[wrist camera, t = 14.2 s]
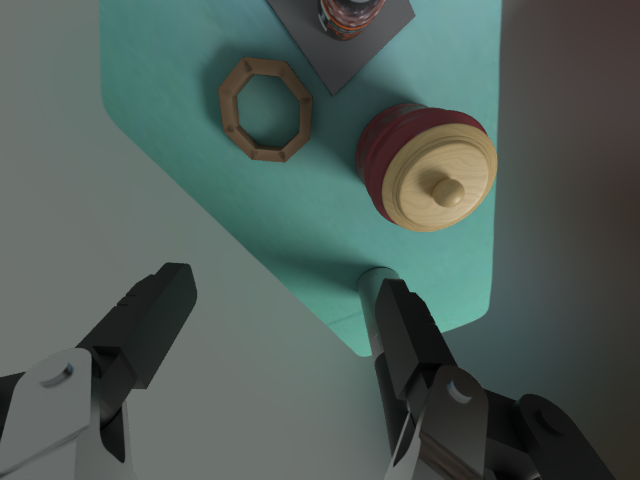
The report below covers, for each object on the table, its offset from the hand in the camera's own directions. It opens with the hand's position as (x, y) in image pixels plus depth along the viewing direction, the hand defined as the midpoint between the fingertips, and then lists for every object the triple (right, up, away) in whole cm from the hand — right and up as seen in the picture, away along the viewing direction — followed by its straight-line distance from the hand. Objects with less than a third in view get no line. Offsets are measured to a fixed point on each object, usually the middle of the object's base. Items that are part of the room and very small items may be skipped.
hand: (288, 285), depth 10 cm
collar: (-6, +20, +22) cm, 30 cm away
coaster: (+4, +28, +16) cm, 33 cm away
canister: (+13, +16, +26) cm, 33 cm away
